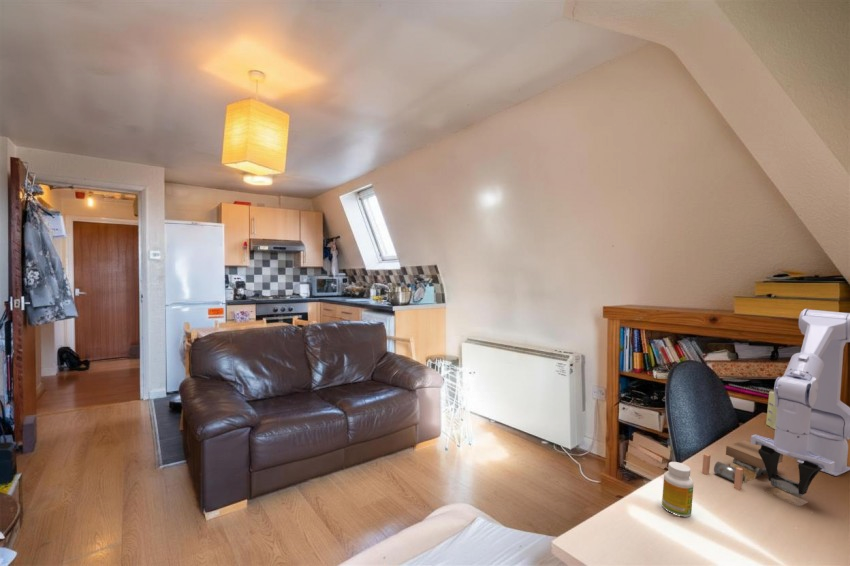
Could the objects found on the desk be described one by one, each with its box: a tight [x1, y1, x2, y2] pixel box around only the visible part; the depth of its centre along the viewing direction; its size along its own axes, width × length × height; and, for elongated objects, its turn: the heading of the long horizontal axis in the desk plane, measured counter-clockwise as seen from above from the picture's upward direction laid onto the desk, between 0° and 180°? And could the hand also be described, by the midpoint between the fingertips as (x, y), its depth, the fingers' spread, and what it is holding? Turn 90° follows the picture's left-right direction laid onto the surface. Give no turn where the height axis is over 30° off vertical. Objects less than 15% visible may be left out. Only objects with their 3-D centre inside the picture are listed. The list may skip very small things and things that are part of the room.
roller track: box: [713, 458, 809, 507], centre depth 98 cm, size 19×16×3 cm
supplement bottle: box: [661, 461, 694, 518], centre depth 85 cm, size 5×5×10 cm
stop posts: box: [701, 453, 743, 491], centre depth 98 cm, size 1×8×5 cm, turn 26°
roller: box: [770, 473, 803, 499], centre depth 92 cm, size 5×3×3 cm, turn 26°
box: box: [765, 391, 777, 430], centre depth 130 cm, size 10×6×12 cm, turn 168°
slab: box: [725, 439, 783, 469], centre depth 104 cm, size 10×8×2 cm
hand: (786, 486), depth 92 cm, fingers closed on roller, 5 cm apart
